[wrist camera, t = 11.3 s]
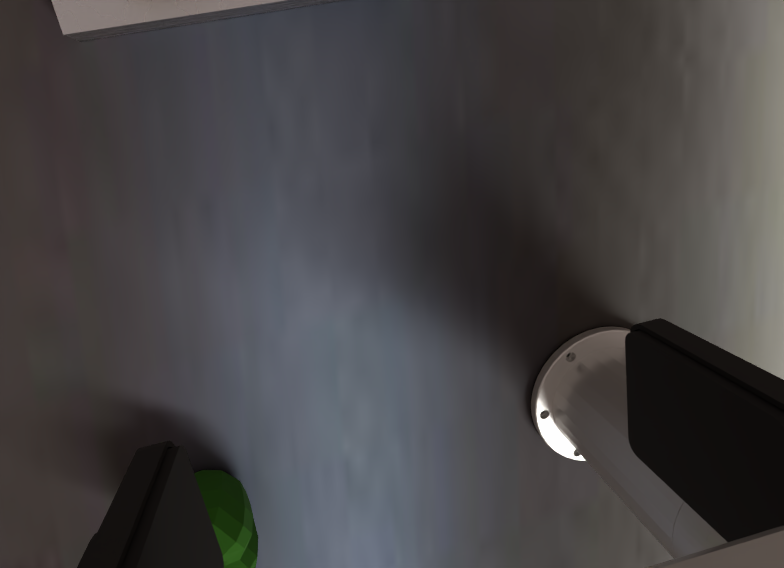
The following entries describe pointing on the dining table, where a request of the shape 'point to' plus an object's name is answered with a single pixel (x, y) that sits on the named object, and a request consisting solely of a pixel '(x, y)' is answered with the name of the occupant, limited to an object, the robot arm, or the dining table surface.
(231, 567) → the bell pepper
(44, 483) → the dining table surface
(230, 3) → the rail
